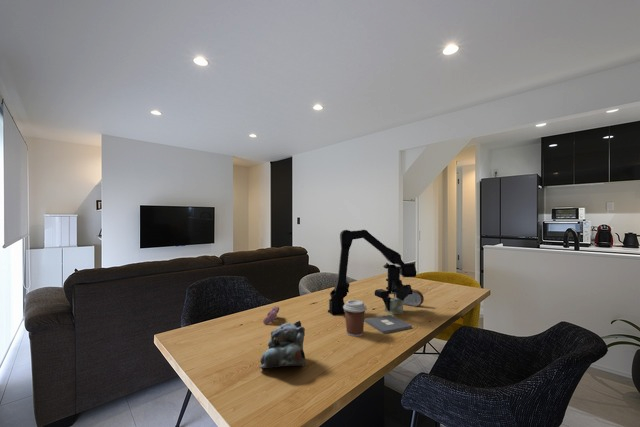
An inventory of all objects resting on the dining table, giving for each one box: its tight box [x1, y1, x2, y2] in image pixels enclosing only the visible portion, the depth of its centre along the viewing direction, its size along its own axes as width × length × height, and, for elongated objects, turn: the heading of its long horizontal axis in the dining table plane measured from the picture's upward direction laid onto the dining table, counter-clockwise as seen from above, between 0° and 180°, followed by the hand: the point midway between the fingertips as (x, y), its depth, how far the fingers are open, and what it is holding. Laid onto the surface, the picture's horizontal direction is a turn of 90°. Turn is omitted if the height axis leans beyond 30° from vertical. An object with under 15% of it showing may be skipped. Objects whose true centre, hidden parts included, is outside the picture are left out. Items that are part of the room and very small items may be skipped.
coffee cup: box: [343, 299, 367, 337], centre depth 108 cm, size 9×9×12 cm
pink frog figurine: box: [262, 306, 280, 325], centre depth 121 cm, size 10×5×7 cm, turn 179°
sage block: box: [384, 296, 404, 316], centre depth 132 cm, size 6×6×6 cm
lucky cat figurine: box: [258, 320, 306, 370], centre depth 85 cm, size 15×12×14 cm
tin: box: [393, 288, 425, 308], centre depth 143 cm, size 15×3×8 cm, turn 58°
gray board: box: [364, 314, 413, 334], centre depth 116 cm, size 14×14×1 cm
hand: (393, 309), depth 132 cm, fingers closed on sage block, 6 cm apart
